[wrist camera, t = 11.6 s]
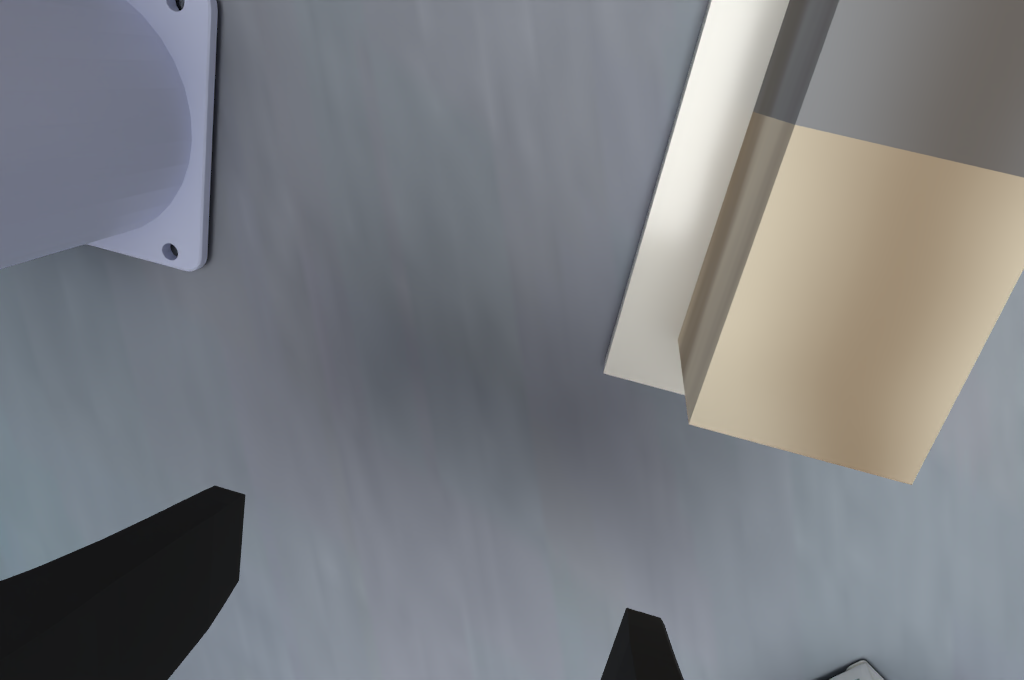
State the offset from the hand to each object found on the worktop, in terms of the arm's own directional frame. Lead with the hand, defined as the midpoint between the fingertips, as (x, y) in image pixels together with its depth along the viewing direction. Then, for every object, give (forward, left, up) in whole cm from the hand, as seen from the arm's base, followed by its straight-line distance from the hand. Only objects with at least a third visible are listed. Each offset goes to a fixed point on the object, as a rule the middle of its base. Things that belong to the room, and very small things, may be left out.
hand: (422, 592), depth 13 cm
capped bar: (+6, +8, -8) cm, 13 cm away
